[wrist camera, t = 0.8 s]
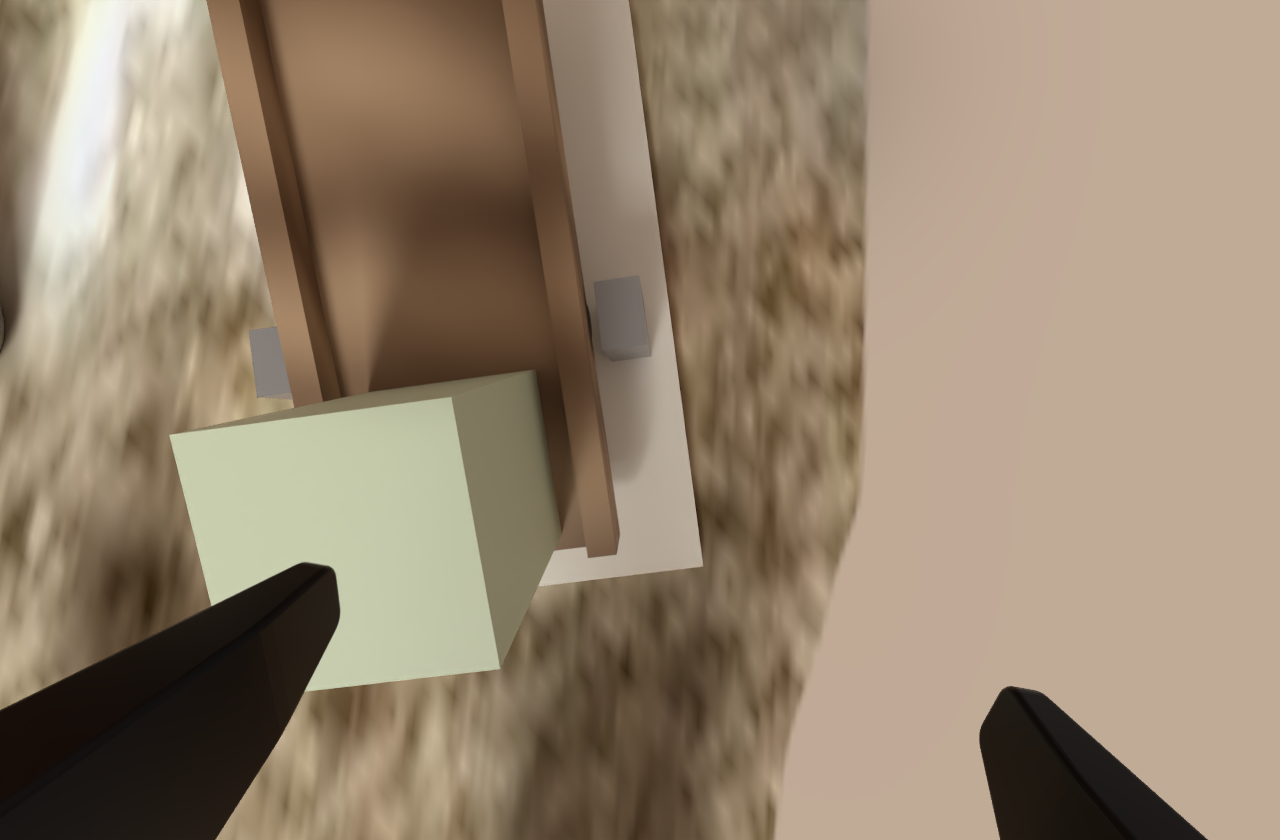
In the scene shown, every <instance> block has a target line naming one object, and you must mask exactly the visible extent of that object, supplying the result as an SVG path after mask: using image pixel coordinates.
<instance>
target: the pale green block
mask: <svg viewBox="0 0 1280 840" xmlns="http://www.w3.org/2000/svg"><path fill="white" fill-rule="evenodd" d="M169 436H170V440H171V444H172V448H173V452H174V456H175V460H176V464H177V468H178V472H179V476H180V480H181V484H182V488H183V492H184V496H185V500H186V505H187V509H188V513H189V517H190V521H191V525H192V529H193V533H194V537H195V541H196V545H197V549H198V553H199V557H200V561H201V565H202V569H203V574H204V578H205V582H206V586H207V590H208V594H209V598H210V602H211V606H213V605H215V604H217V603H219V602H221V601H223V600H225V599H227V598H229V597H231V596H233V595H235V594H237V593H239V592H241V591H243V590H245V589H247V588H249V587H251V586H253V585H255V584H257V583H259V582H261V581H263V580H265V579H267V578H269V577H271V576H273V575H275V574H277V573H280V572H282V571H284V570H286V569H288V568H290V567H292V566H294V565H296V564H298V563H301V562H310V563H316V564H322V565H328V566H330V567H332V568H333V569H334V571H335V573H336V577H337V585H338V593H339V601H340V612H341V613H340V620H339V623H338V626H337V629H336V631H335V633H334V635H333V637H332V639H331V641H330V643H329V645H328V647H327V649H326V650H325V652H324V654H323V656H322V658H321V660H320V662H319V664H318V666H317V668H316V670H315V672H314V674H313V676H312V678H311V680H310V682H309V684H308V686H307V688H306V690H305V691H314V690H322V689H331V688H340V687H348V686H357V685H366V684H374V683H383V682H392V681H401V680H409V679H418V678H427V677H435V676H444V675H453V674H461V673H470V672H479V671H487V670H496V669H500V668H501V666H502V664H503V662H504V659H505V657H506V655H507V653H508V651H509V649H510V646H511V644H512V642H513V640H514V638H515V635H516V633H517V631H518V629H519V627H520V624H521V622H522V620H523V618H524V616H525V613H526V611H527V609H528V607H529V605H530V603H531V600H532V598H533V596H534V594H535V592H536V589H537V587H538V585H539V583H540V581H541V578H542V576H543V574H544V572H545V570H546V567H547V565H548V563H549V561H550V559H551V557H552V554H553V552H554V550H555V548H556V546H557V543H558V541H559V539H560V537H561V535H562V532H561V526H560V520H559V513H558V507H557V501H556V495H555V488H554V482H553V476H552V470H551V463H550V457H549V451H548V444H547V438H546V432H545V426H544V419H543V413H542V407H541V401H540V394H539V388H538V382H537V375H536V369H535V370H528V371H520V372H513V373H506V374H498V375H491V376H484V377H476V378H469V379H462V380H454V381H447V382H439V383H432V384H425V385H417V386H410V387H403V388H395V389H388V390H381V391H373V392H367V393H362V394H357V395H353V396H348V397H343V398H339V399H334V400H329V401H325V402H320V403H315V404H311V405H306V406H302V407H297V408H292V409H288V410H283V411H278V412H274V413H269V414H264V415H260V416H255V417H250V418H246V419H241V420H236V421H232V422H227V423H222V424H218V425H213V426H209V427H204V428H199V429H195V430H190V431H185V432H181V433H176V434H171V435H169Z"/></svg>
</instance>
